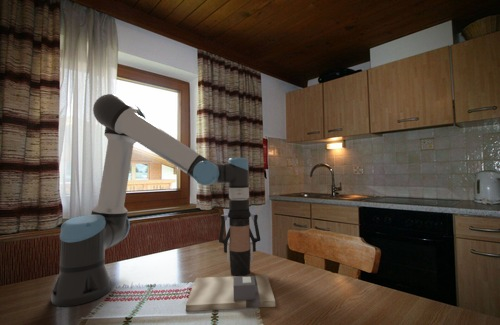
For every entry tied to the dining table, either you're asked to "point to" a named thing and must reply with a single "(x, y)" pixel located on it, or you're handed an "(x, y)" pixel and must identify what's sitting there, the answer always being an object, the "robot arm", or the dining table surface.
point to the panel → (227, 294)
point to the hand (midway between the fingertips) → (240, 260)
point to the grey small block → (244, 288)
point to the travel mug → (239, 247)
